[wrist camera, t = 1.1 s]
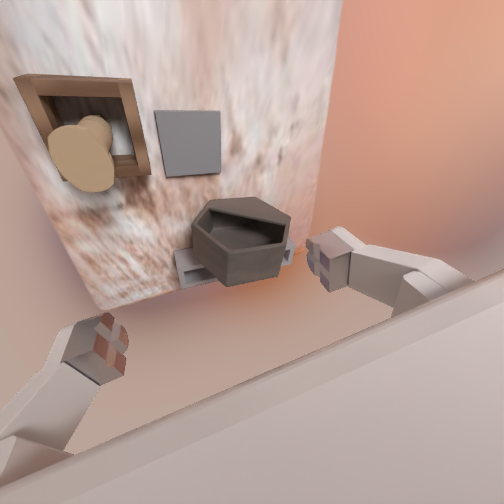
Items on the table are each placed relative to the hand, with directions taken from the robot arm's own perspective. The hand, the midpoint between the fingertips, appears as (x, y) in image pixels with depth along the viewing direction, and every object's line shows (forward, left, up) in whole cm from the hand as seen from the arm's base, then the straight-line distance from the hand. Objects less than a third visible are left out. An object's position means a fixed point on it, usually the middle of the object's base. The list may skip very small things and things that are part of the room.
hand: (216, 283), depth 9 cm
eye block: (+2, -8, -37) cm, 37 cm away
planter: (+20, +12, -37) cm, 44 cm away
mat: (+5, +5, -37) cm, 37 cm away
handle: (+2, -8, -37) cm, 38 cm away
